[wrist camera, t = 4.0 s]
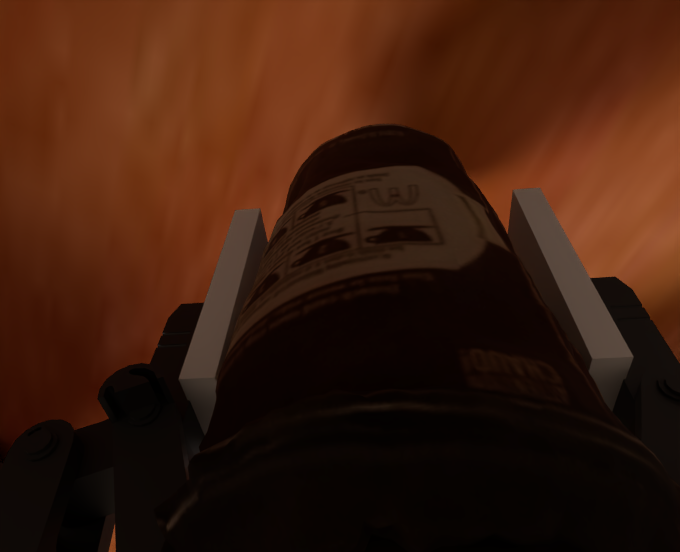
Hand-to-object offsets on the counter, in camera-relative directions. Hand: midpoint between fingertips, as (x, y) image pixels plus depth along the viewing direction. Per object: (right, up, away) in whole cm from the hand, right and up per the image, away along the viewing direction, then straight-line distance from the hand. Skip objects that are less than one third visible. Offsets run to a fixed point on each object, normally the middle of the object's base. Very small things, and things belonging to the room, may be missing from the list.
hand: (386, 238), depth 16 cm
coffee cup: (0, +1, +1) cm, 2 cm away
